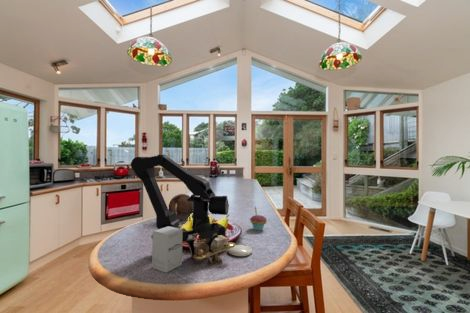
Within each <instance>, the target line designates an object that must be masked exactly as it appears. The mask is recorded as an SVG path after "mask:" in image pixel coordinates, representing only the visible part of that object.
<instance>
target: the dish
mask: <svg viewBox="0 0 470 313" xmlns="http://www.w3.org/2000/svg"><path fill="white" fill-rule="evenodd" d="M227 252H228V254H230V255H231V256H234V257H246V256H250V255H252V254H253V248H252V247H250V246H247V245H242V244H235V247H233V248H230V249H228V250H227Z"/></svg>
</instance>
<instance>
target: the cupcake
mask: <svg viewBox="0 0 470 313" xmlns="http://www.w3.org/2000/svg"><path fill="white" fill-rule="evenodd" d="M254 210H255V211H254V212H255V215H253V216H251V217H250V219H249V221H250V223H251V226H252V228H253V230H254V231H262V230H264V226H265V224H267V221H268V220H267V218H266V217H265V216H263V215H261V214H258V213H257V212H258V211H257V207H256V206H254Z"/></svg>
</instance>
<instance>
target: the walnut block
mask: <svg viewBox="0 0 470 313" xmlns="http://www.w3.org/2000/svg"><path fill="white" fill-rule="evenodd" d="M199 249H202V250H204V253H205V254H206V253H209V252H210V249H209V245H207V244H206V243H205V241H199V242H194V254H196V253H197V250H199ZM190 257H191V258H192V259H193V261H195V262H201V261H206V260H207V261H208V259H209V257H210V256H209V257H206V258H204V259H201V260H200V259H195V258H194V257H193V256H192V254H191V256H190Z"/></svg>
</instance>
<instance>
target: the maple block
mask: <svg viewBox="0 0 470 313" xmlns="http://www.w3.org/2000/svg"><path fill="white" fill-rule="evenodd" d="M217 236H218V237H217V238H215V239H214V240H213V242H212V244H211V246H210V249H209V250H210V251H211V252H212V251H214V250H217V249H220V248H222V247H224V246H223V244H224V243H226V242H229V241H228V237H227V236H224V235H218V234H217ZM224 252H228V249H227V250H225V251H222V252H219V253H218V254H220V253H224Z"/></svg>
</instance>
